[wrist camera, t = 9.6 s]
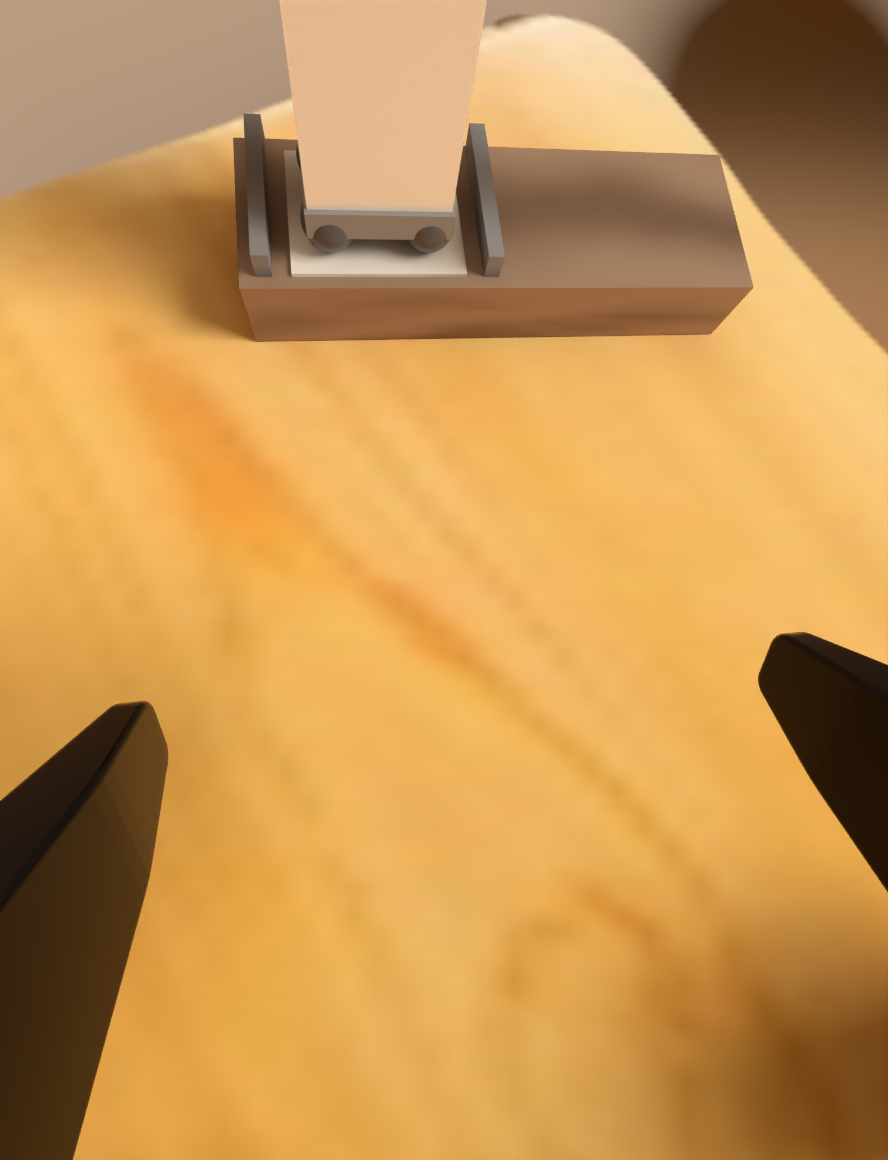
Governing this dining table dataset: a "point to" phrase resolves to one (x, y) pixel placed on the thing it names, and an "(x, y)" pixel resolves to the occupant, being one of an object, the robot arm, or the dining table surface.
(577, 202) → the dock
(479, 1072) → the dining table surface
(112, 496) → the dining table surface
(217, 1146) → the dining table surface
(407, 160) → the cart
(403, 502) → the dining table surface
